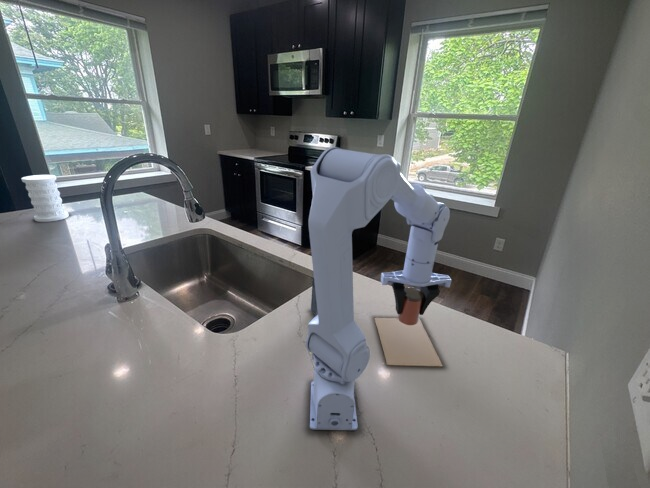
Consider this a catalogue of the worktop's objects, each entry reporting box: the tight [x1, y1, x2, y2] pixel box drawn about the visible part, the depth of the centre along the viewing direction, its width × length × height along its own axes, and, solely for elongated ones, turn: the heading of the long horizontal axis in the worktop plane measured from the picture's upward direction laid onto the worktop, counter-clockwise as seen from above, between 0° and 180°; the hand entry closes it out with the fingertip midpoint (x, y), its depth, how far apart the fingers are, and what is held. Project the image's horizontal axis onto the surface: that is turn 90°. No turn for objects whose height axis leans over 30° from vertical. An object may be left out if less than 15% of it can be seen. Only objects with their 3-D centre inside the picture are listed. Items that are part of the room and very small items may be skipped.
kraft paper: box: [374, 317, 444, 368], centre depth 71 cm, size 16×12×1 cm
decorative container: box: [20, 174, 70, 223], centre depth 129 cm, size 12×12×18 cm
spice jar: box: [397, 287, 424, 325], centre depth 66 cm, size 5×5×7 cm
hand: (409, 311), depth 67 cm, fingers closed on spice jar, 4 cm apart
